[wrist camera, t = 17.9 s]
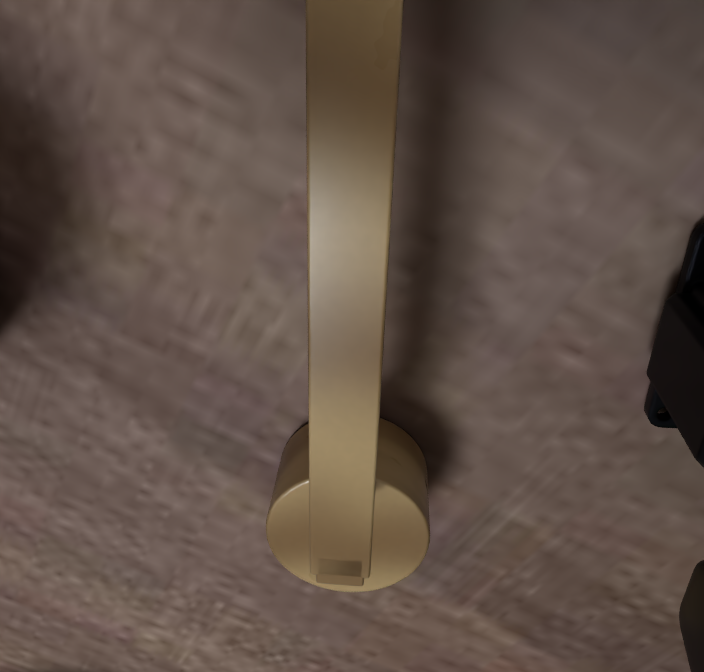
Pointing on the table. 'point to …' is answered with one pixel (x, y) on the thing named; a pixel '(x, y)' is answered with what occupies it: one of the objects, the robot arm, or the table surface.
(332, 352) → the ladle
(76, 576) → the table surface
